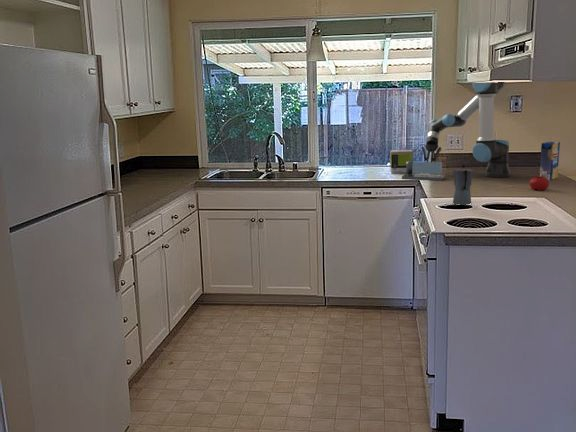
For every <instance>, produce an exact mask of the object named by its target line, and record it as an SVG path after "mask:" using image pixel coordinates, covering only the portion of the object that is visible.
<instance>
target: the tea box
mask: <svg viewBox="0 0 576 432" xmlns="http://www.w3.org/2000/svg"><path fill="white" fill-rule="evenodd" d="M389 153H390V154H389V157H390V161H389V162H390V164H389V166H390V167H389V170H390V173H391V174H407V173H406V162H407V161H414V157H415V156H414V155H415V154H414V153H415V152H414V151H413V149H402V150H401V149H400V150H398V149H397V150H395V149H393V150H390V151H389Z"/></svg>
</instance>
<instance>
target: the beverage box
mask: <svg viewBox="0 0 576 432" xmlns="http://www.w3.org/2000/svg"><path fill="white" fill-rule="evenodd" d="M540 146H541V148H540V160H539V161H540V163H539V173H540V177H541V176H542V177H543V176H545V177H544V178H547V179H548V180H549V181H552V179H553V180H554V179H555V178H556V179H558V175H559V174H558V173H559V163H560V161H559V160H560V150H561V149H560V148H561V147H560V146H561V142H557V141H547V142H546V141H544V142H541V145H540Z"/></svg>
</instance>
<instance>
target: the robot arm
mask: <svg viewBox="0 0 576 432" xmlns="http://www.w3.org/2000/svg"><path fill="white" fill-rule="evenodd" d="M505 83H506V81H505V82H498V83H473V82H472V88H473V89H474V91H475V92H476V95H475V96H473V98H471V100H470V101H468V102H467V103H466V104H465V105H464V106H462V108H461V109H459V111H458V112H457V113H456V114H454V115H453V114H452V113H446V114H445V115H443V116H441V117H440V118H438V119H437V118H433V119H431V120H429V123H428V125H427V126H428V129H427V134H426V142H425V145H424V146H421V151H422V154H423V159H424V160H423V161H425V162H437V159H438V157H439V154H440V152H441V151H442V147H441V146H439V137H440V133H441V132H442V131H444V130H446V129H447V128H455V127H463V126H464V125H466V123H467V120H468V119H469V118H470V117H471V116H472V115H474V114H475V113H476V112H477V111H478V138H476V141H475V145H474V146H473V147H472V155H473V158H475V160H476V161H477V162H480V163H482V162H484V163H486V162H488V164H487V166H486V170H485V173H484V175H485V177H490V178H508V177H511V171H510V168H509V167H510V166H509V149H510V142H509V140H505V139H496V138H495V137H494V126H495V125H494V124H495V121H494V115H495V114H494V111H495V109H494V108H495V102H494V101H495V100H494V99H495V96H497V95H498V94H499V93H500V92H501V91H502V90H503V89H504V87H505ZM426 151H427V154H426ZM426 155H427V156H426ZM430 155H431V156H430Z"/></svg>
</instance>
